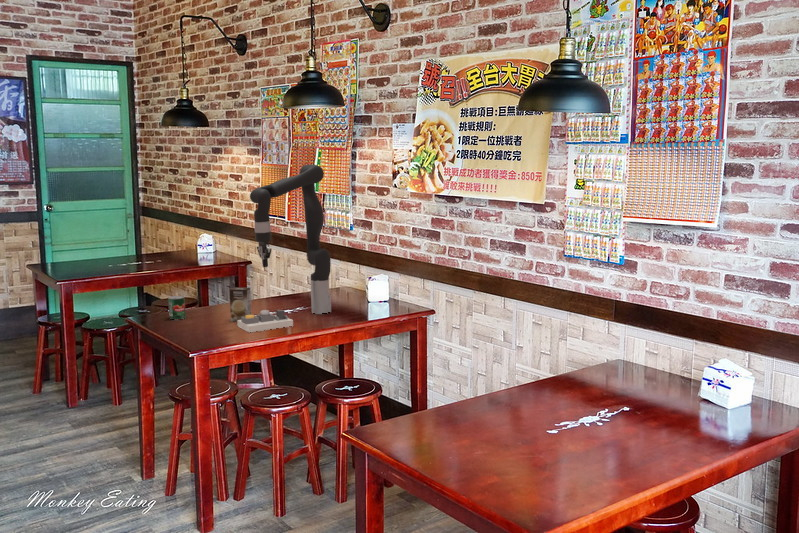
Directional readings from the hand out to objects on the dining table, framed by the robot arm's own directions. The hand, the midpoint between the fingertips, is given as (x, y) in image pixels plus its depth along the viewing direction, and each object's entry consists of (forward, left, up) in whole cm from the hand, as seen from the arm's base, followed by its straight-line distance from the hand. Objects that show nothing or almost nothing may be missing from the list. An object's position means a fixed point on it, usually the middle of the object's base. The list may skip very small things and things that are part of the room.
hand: (265, 266), depth 356 cm
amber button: (+11, +7, -24) cm, 27 cm away
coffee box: (+9, -12, -28) cm, 32 cm away
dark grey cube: (-3, +9, -24) cm, 26 cm away
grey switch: (+4, +7, -23) cm, 24 cm away
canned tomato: (+34, -34, -28) cm, 56 cm away
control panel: (+4, +7, -27) cm, 28 cm away
